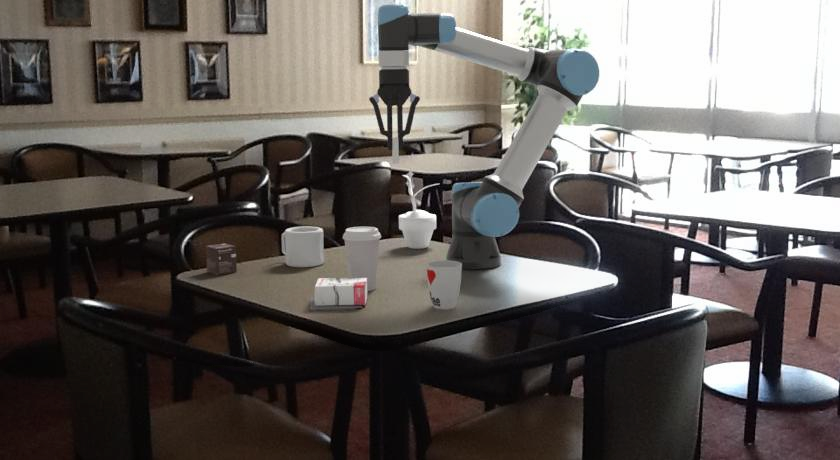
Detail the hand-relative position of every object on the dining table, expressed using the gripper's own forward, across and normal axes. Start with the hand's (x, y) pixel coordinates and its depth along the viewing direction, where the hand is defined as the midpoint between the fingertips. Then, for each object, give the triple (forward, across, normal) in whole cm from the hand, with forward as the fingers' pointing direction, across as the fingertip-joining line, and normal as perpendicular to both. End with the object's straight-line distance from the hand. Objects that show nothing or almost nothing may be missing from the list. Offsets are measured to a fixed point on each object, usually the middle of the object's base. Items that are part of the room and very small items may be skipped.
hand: (395, 162), depth 244 cm
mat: (+30, +16, +23) cm, 41 cm away
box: (+31, +47, -17) cm, 59 cm away
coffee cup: (+31, +9, +8) cm, 33 cm away
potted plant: (+31, -9, -46) cm, 56 cm away
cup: (+31, -9, +29) cm, 43 cm away
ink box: (+28, +8, +23) cm, 37 cm away
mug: (+31, +26, -26) cm, 48 cm away
